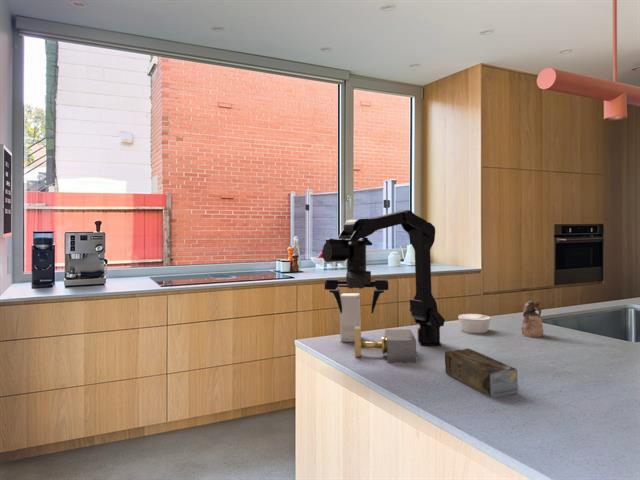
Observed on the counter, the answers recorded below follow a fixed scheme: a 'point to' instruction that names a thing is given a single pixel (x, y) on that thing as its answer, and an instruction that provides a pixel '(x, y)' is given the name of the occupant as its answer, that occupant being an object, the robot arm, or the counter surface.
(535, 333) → the figurine
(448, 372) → the beverage carton
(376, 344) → the brass door handle
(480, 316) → the ramekin
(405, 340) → the housing
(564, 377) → the counter surface
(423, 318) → the robot arm
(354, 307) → the skincare box
